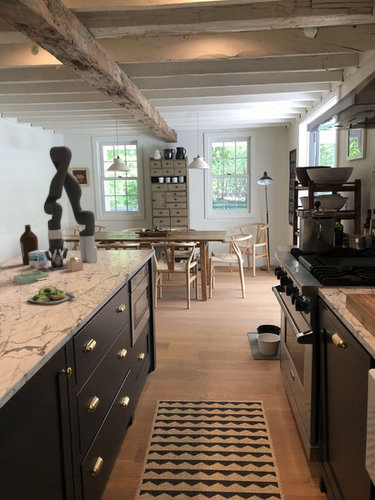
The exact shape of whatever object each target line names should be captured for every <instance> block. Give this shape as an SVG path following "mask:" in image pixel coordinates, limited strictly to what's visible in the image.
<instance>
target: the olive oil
mask: <svg viewBox="0 0 375 500" xmlns="http://www.w3.org/2000/svg"><path fill="white" fill-rule="evenodd" d="M38 241H39V240H38V236H37V235H36V234H35V233H34V232H33V231H32V229H31V224H25V225H24V232H23V233H22V234H21V235H20V238H19V245H20V250H21V258H22V259H21V260H22V265H24V266H29V255H28V253H30V252H33V251H37V250H39V242H38Z"/></svg>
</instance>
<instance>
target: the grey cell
mask: <svg viewBox="0 0 375 500" xmlns="http://www.w3.org/2000/svg"><path fill="white" fill-rule="evenodd" d="M54 261H55V268H61V258H60V256H59V255H56V257H55V260H54Z"/></svg>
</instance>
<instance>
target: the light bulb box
mask: <svg viewBox="0 0 375 500" xmlns="http://www.w3.org/2000/svg"><path fill="white" fill-rule="evenodd" d="M47 250H48V249H47ZM47 250H45V249H44V250H43V249H38V250H37V251H33V252H30V253H28V255H29V265H28V266H29V269H37V268H42V267H39V264H40V263H45V267H47V266H48V267H49V266H50V261H49V260H47V258H46V255H45V253H44V251H47Z"/></svg>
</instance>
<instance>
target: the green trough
mask: <svg viewBox="0 0 375 500" xmlns="http://www.w3.org/2000/svg"><path fill="white" fill-rule="evenodd" d="M48 277H49V272H47V273H45V272H41V271H38V272H32V271H31V272H28V273H27V272H26V273H22V274H16V275H13V281H14V282H15V283H17V284H20V285H26V284H33V283H38V282H43V281H47V280H48V279H47V278H48ZM44 278H45V279H44ZM40 279H41V280H40Z"/></svg>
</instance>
